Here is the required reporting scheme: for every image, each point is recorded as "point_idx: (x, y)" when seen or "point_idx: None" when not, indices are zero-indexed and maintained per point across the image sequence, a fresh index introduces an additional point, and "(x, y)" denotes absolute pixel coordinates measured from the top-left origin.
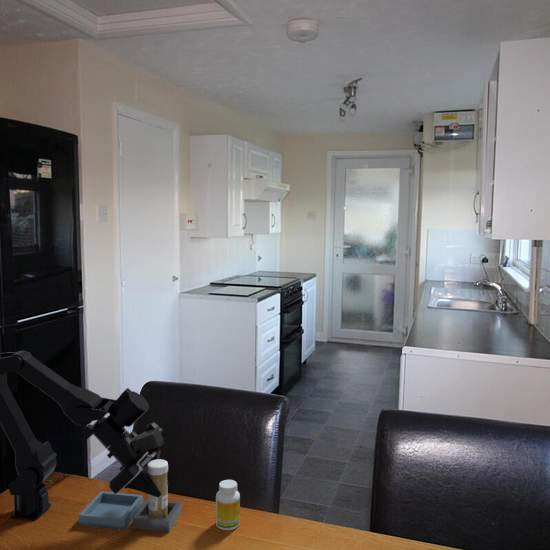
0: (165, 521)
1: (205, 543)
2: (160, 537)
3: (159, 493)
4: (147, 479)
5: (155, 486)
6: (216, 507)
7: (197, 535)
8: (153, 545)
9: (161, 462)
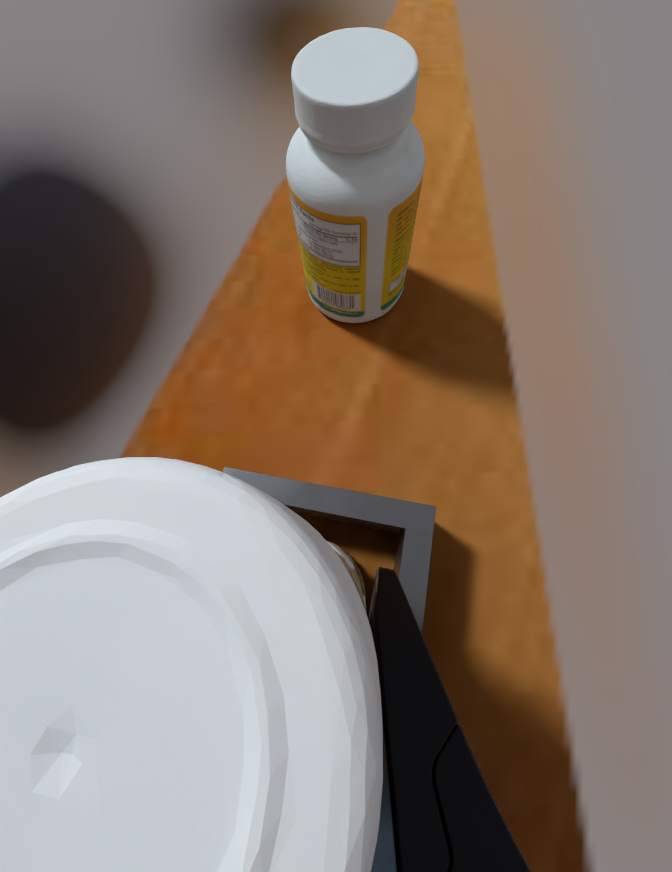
0: (432, 530)
1: (495, 350)
2: (471, 553)
3: (399, 584)
4: (499, 865)
5: (399, 646)
6: (377, 254)
7: (440, 386)
8: (545, 579)
9: (42, 630)
